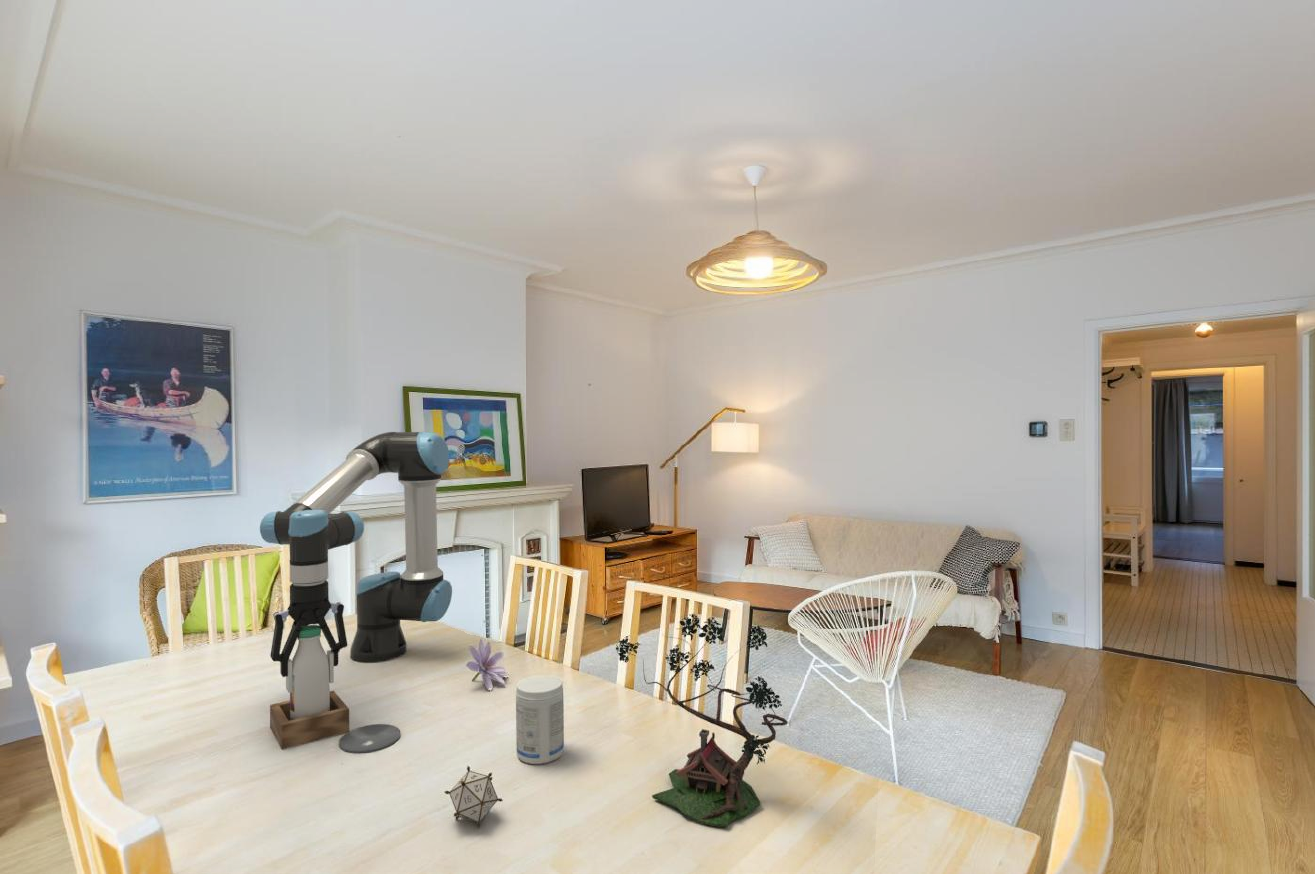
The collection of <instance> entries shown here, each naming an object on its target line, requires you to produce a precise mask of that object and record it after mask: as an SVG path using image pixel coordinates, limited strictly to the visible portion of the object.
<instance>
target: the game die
mask: <svg viewBox="0 0 1315 874" xmlns="http://www.w3.org/2000/svg"><path fill="white" fill-rule="evenodd" d="M466 770H467V772H466V773H465V774H463V776H462V777H461V778H460V780H459V781H458V782H457V783H456V784H455V785H454V787H453V788H452V789H451V790H450V791H449V790H445V791H444V794H445V795H449V796H450V799H451V802H452V804H453V807H454V810H455V813H453V817H454V818H455V821H457V820H459V818H463V819H466V820H469V821H472V822H474V823H477V827H478V828H479V829H481V826H482V825H481V821H482V820H483V819H484V818H485V817H486V815H487V814H488V813H489V812H490V810H491V809H492V808H493V807H494V805H496V803H498V802H500V803H501V802H503V801H504V800H503V799H502V798H501V797H498V795H497V792H496V790H495V787H494V785H493V782H492V780H493V772H489V773H488V775H487V774H486V775H485V774H483V773H478V772H476V771H472V770H471V767H470V766H469V765H467V766H466Z"/></svg>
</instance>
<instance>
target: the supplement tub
mask: <svg viewBox="0 0 1315 874" xmlns="http://www.w3.org/2000/svg"><path fill="white" fill-rule="evenodd" d="M564 714H565V713H564V687H563V681H562V679H561V678H560V677H558V676H555V675H549V674H537V675H532V676H531V675H530V676H528V677H524V678H522V679H520V680H519V681H517V683H516V690H515V722H516V723H515V729H516V730H515V733H516V734H515V735H516V738H515V739H516V743H515V744H516V756H517V758H518V759H519V760H520V761H521V762H523V763H526V764H530V765H543V763H544V764H548V763H551V762H553V761H555V760H557V759H559V758H560V757H561V756H562V754H563V752H564V750H565V727H564V726H565V724H564V721H565V719H564V718H565V717H564Z"/></svg>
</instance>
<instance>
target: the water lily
mask: <svg viewBox="0 0 1315 874" xmlns="http://www.w3.org/2000/svg"><path fill="white" fill-rule="evenodd" d="M469 651H470V653H471V656H472V658H473V660H474V661H471V660H470V661H468V662H466V665H465V667H467V668H468V669H469V670H471V671H473V672H477V673H476V674H475V675H474V677H473V678H472V679H471V682H473V681H474V682H475V680H476V679H477V678H478V677H479V675H481V677H482V681H483V684H484V687H486V689H487V690H488V691H489V688H492V689H493V683H492V680H494V681H496V682H498V683H500V684H503V685H506V683H505V680H504V678H503V677H504V676H507V675H508V676H509V674H508V673H507V668H505V667H503V666H497V664H499V663H500V662H501V661H502V660H503V658H504V652H503V651H499V652H496V653H494V654H493V655H492V656H491V654H492V644H491V642H490V641H488V642H486V645H485V643H484V641H483V639H479V641H478V650H477V649H476V648H475V647H474V646H472V645H469ZM491 679H492V680H491Z"/></svg>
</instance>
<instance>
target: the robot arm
mask: <svg viewBox="0 0 1315 874" xmlns="http://www.w3.org/2000/svg"><path fill="white" fill-rule="evenodd" d="M449 464H450V451H449V447H448V444H447V442H446V440H445V439H444V437H442V435H440V434H439V433H436V432H427V431H409V432H407V431H405V432H404V431H388V432H383V433H380V434H377V435H375V436H372V437H370V438H369V439H367V440H364V441H362V442H361V443H360V444H358V445H357V446H355V448H353V449H352V450H351V451H349V452H348V453H347V455H346V457H345V460H344V461H343V462H342V463H341V464H339V465H338V466H337V467H335V469H333V470H332V471H331V472H330V473H329V474H327V475H326V476H325V477H324V478H322V479H321V480H320V481H319V482H318V483H317V484H315V485H314V486H313V487H312V488H310V490H308V491H307V492H306V493H305V494H303V495H302V496H301V497H299V498H298V499H297V500H296V501H295V502H293V503H292V504H291V505H290V506H289V507H287V508H286V509H285V510H284V511H280V510H277V511H271V512H268V513H266V514H265V515H264V516H263V518H262V519H261V521H260V525H259V532H260V536H261V538H262V539H263V541H264V542H266V543H268V544H278V545H280V546H284V545H289V582H290V583H291V584H290V585H289V606H288V607H287V609H286V610H283V611H281V612H278V611H277V612H274V613H273V620H274V629H273V636H272V642H271V649H270V650H271V651H270V655H269V656H270V659H271V660H272V662H280V663H279V665H280V672H279V673H280V675H281V677H282V678H285V690H286V691H287V692H288V693H290V692H293V685H292V659H291V657H290V656H291V655H292V652H293V649H294V648H295V645H296V642H297V640H298V639H297V638H298V635H299V633H300V631H301V630H302V627H303V626H308V625H319V626H320V627H321V633H322V634H323V636H324V637H325V639H326V640H325V641H326V642H327V644H328V646H329V648H330V649H329V650H326V655H327V658H328V662H329V684H333V683H335V679H334V678H335V674H334V673H335V672H334V671H335V669H334V667H337V666H339V653H340V651H341V650H342V649H346V648H347V647H348V639H347V634H346V628H345V627H346V626H345V622H344V616H343V613H344V610H345V606H344V604H343V603H341V602H336V603H335V602H333V603H331V602H330V600H329V581H328V579H329V550H332V549H335V548H339V547H340V548H341V547H343V546H349V545H351V544H352V543H355V542H357V541H358V540H359V539H361V537H362V536H363V533H364V529H365V524H364V520H363V519H362V517H361V516H360V515H359V514H358V513H355V512H354V511H340V512H338V513H332V512H333V511H334V510H335V509H337V508H338V506H340V505H341V504H342V503H343V502H344V501H345V500H346V499H347V498H349V497H350V496H351V495H352V494H353V493H354V492H355V491H357V489H358V488H359V487H361V486H362V485H363V484H364V483H366V481H371V480H374V479H375V478H376V477H377V476H378V475H381V474H387V473H393V474H394V473H395V474H397V479H398V482H399V483H401V484H402V485H403V491H404V495H403V496H404V532H405V533H404V534H405V535H404V537H405V538H404V539H405V542H404V543H405V570H404V571H403V572H402V573H400V571H387V572H386V571H385V572H381V573H380V572H379V573H374V574H370V575H366V576H364V577H362V578H360V579H359V580H358V582H357V589H356V594H355V595H356V632H355V635H354V638H353V641H352V643H351V647H350V650H349V652H350V659H351V660H353V661H355V662H360V663H379V662H384V661H391V660H393V659H397V658H400V657H401V656H403V655H405V654H406V653H407V649H408V648H407V645H408V644H407V640H406V637H405V635H404V632H403V630H402V626H401V621H415V622H421V623H426V622H437V621H439V620H441V619H443V617H444V616H445V615H446V613H447V612H448V609H449V608H450V604H451V601H452V596H453V586H452V584H451V581H448V580H447V579H444V571H443V570H442V569H441V568H439V564H438V563H439V562H438V561H439V560H438V559H439V558H438V557H439V556H438V521H437V520H438V519H437V518H438V517H437V515H438V513H437V511H438V509H437V484H438V483H439V482H440V481H441V480H442V474H445V472H447V470H448V469H449ZM330 610H331V613H333V616H334V623H335V628H336V635H337V640H338V642H337V641H336V639H335V638H334V636H333V633H332V631H331V629H330V628H329V625H328V623H327V621H326V619H325V617H326V615H327V614H328V613H329V611H330ZM287 617H291V619H292V620H293V622H292V625H291V629H290V630H289V631H290V632H289V634H288V637H287V638H286V641H285V644H284V646H283V648H282V647H281V645H282V639H283V634H284V624H285V622H286V621H287ZM281 648H282V651H281Z"/></svg>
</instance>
